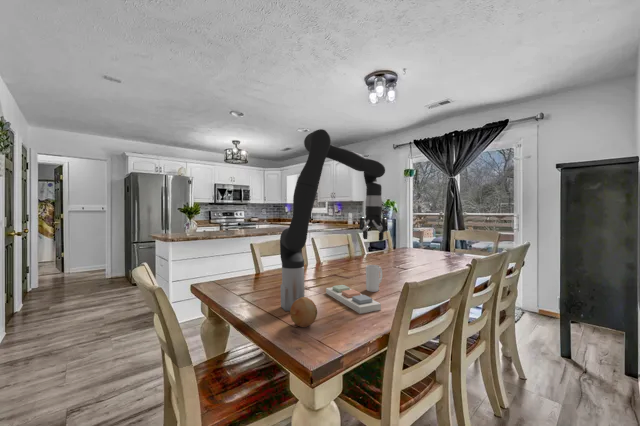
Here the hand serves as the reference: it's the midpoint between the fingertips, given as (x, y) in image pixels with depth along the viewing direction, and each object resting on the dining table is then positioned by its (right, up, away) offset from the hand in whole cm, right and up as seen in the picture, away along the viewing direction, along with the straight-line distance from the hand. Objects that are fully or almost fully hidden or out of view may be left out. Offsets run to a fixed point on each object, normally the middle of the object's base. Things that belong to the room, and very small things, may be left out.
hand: (372, 239), depth 139 cm
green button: (-15, -24, 0) cm, 28 cm away
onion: (-31, -27, -35) cm, 54 cm away
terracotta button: (-11, -24, -8) cm, 28 cm away
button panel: (-11, -26, -8) cm, 30 cm away
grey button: (-7, -25, -16) cm, 30 cm away
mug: (+3, -26, +10) cm, 28 cm away
